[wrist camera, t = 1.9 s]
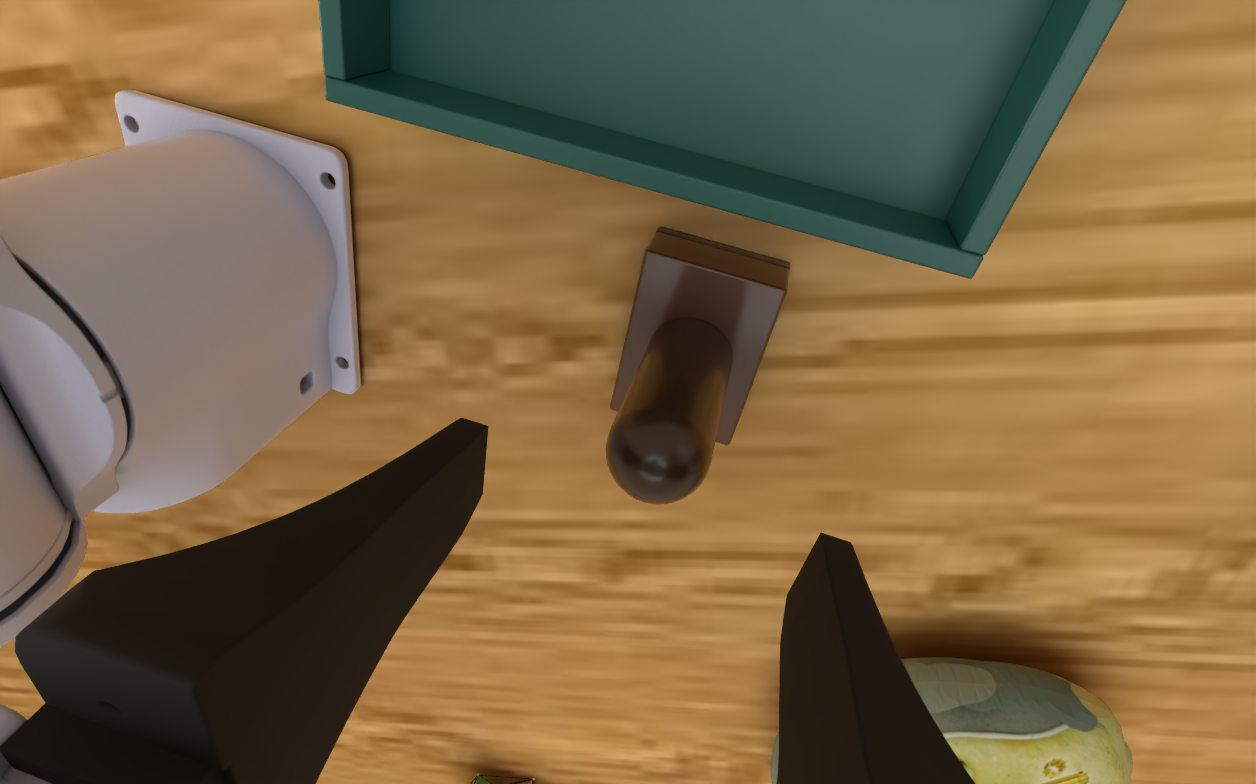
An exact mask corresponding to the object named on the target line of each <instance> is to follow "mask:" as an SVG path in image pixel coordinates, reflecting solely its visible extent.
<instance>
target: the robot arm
mask: <svg viewBox="0 0 1256 784" xmlns="http://www.w3.org/2000/svg"><path fill="white" fill-rule="evenodd" d="M115 106H116V110H117V114H118V117H119V121H120V125H121V129H122V133H123V137H124V141H125V145H126V147H123V148H119V149H116V150H112V151H108V152H104V153H100V154H97V155H93V156H89V157H85V158H81V159H77V160H74V161H70V162H66V163H62V164H58V165H54V166H51V167H47V168H43V169H39V170H35V171H31V172H28V173H24V174H20V175H16V176H12V177H8V178H5V179H1V180H0V647H2V646H3V645H5V644H6V643H8V642H9V641H10V640H12V639H13V638H14V637H16V640H15V652H16V655H17V657H18V659H19V661H20V663H21V665H22V666H23V668H24V670H25V671H26V673H27V674H28V676H29V677H30V679H31V681H32V682H33V684H34V685H35V687H36V688H37V690H38V692H39V693H40V695H41V696H42V698H43V700H44V701H45V704H44V705H43V706H42V707H41V708H40V709H39V710H38V711H37V712H36V713H35V714H34V715H33V716H32V717H31V718H30V719H29V720H26V719H25V718H24V717H23V716H22V715H20V714H19V713H17V712H16V711H14V710H12V709H10V708H8V707H6V706H4V705H2V704H0V784H316V782H317V780H318V778H319V775H320V773H321V771H322V769H323V767H324V765H325V763H326V761H327V759H328V758H329V756H330V754H331V752H332V750H333V748H334V746H335V744H336V742H337V740H338V738H339V736H340V734H341V732H342V730H343V728H344V726H345V724H346V722H347V720H348V718H349V716H350V714H351V712H352V711H353V709H354V707H355V705H356V703H357V701H358V699H359V697H360V696H361V694H362V692H363V690H364V688H365V686H366V684H367V682H368V680H369V679H370V677H371V675H372V673H373V671H374V670H375V668H376V666H377V664H378V662H379V660H380V659H381V657H382V655H383V653H384V651H385V650H386V648H387V646H388V644H389V642H390V641H391V639H392V637H393V635H394V634H395V632H396V631H397V629H398V627H399V626H400V624H401V623H402V621H403V620H404V618H405V616H406V615H407V614H408V612H409V611H410V609H411V608H412V606H413V605H414V603H415V602H416V601H417V599H418V598H419V596H420V595H421V593H422V592H423V590H424V589H425V588H426V586H427V585H428V583H429V582H430V580H431V579H432V577H433V576H434V575H435V573H436V572H437V570H438V569H439V567H440V566H441V564H442V563H443V561H444V560H445V559H446V557H447V556H448V554H449V553H450V551H451V550H452V548H453V547H454V545H455V544H456V542H457V541H458V539H459V538H460V536H461V535H462V533H463V531H464V529H465V527H466V526H467V524H468V522H469V520H470V518H471V516H472V514H473V512H474V510H475V508H476V506H477V504H478V502H479V500H480V498H481V496H482V494H483V483H484V471H485V460H486V448H487V436H488V426H486V425H483V424H480V423H477V422H474V421H471V420H467V419H464V418H460V419H458V420H456V421H455V422H453V423H452V424H450V425H449V426H447V427H445V428H444V429H442V430H441V431H439V432H438V433H436V434H435V435H433V436H432V437H430V438H428V439H427V440H425V441H424V442H422V443H421V444H419V445H417V446H416V447H414V448H413V449H411V450H410V451H408V452H406V453H405V454H403V455H401V456H400V457H398V458H396V459H395V460H393V461H391V462H390V463H388V464H386V465H385V466H383V467H381V468H379V469H378V470H376V471H374V472H372V473H371V474H369V475H367V476H365V477H363V478H361V479H359V480H358V481H356V482H354V483H352V484H350V485H348V486H346V487H345V488H343V489H341V490H339V491H337V492H335V493H333V494H331V495H329V496H327V497H325V498H323V499H320V500H318V501H316V502H314V503H312V504H310V505H307V506H305V507H303V508H301V509H298V510H296V511H294V512H291V513H289V514H287V515H284V516H282V517H279V518H276V519H274V520H271V521H268V522H266V523H263V524H260V525H258V526H255V527H252V528H249V529H247V530H244V531H241V532H239V533H236V534H233V535H230V536H227V537H224V538H220V539H217V540H214V541H211V542H208V543H205V544H201V545H198V546H194V547H191V548H187V549H184V550H180V551H177V552H173V553H169V554H165V555H162V556H157V557H153V558H149V559H145V560H140V561H136V562H132V563H128V564H123V565H119V566H115V567H110V568H106V569H101V570H96V571H93V572H92V573H91V574H89V575H88V576H87V577H85V578H84V579H83V580H82V581H80V582H79V583H78V584H76V585H75V586H74V587H73V588H71V589H70V590H69V591H68V592H67V593H65V594H64V595H63V596H62V597H61V598H59V597H60V596H61V595H62V594H63V593H64V592H65V591H66V589H67V588H68V586H69V585H70V584H71V582H72V581H73V579H74V578H75V576H76V575H77V573H78V571H79V569H80V567H81V565H82V563H83V560H84V558H85V554H86V549H87V544H88V540H87V528H86V525H85V523H84V521H83V519H82V518H84V517H85V516H86V515H88V514H89V513H90V512H92V511H93V512H101V513H120V514H122V513H140V512H147V511H153V510H157V509H161V508H165V507H169V506H172V505H175V504H178V503H181V502H184V501H186V500H189V499H192V498H194V497H196V496H198V495H200V494H203V493H205V492H207V491H209V490H211V489H212V488H214V487H216V486H217V485H219V484H221V483H222V482H223V481H225V480H226V479H227V478H229V477H230V476H231V475H233V474H234V473H235V472H236V471H237V470H238V469H240V468H241V467H242V466H243V465H244V464H245V463H246V462H248V461H249V460H250V459H251V458H252V457H253V456H255V455H256V454H257V453H258V452H259V451H260V450H261V449H263V448H264V447H265V446H266V445H267V444H268V443H270V442H271V441H272V440H273V439H274V438H275V437H276V436H278V435H279V434H280V433H281V432H282V431H283V430H285V429H286V428H287V427H288V426H289V425H290V424H291V423H293V422H294V421H295V420H296V419H297V418H298V417H300V416H301V415H302V414H303V413H304V412H305V411H306V410H308V409H309V408H310V407H311V406H312V405H313V404H314V403H316V402H317V401H318V400H319V399H320V398H321V397H323V396H324V395H325V394H326V393H327V392H328V391H329V390H331V389H332V390H335V391H338V392H341V393H345V394H353V393H354V392H356V391H357V390H358V389H359V388H360V385H361V377H360V360H359V343H358V326H357V309H356V292H355V275H354V258H353V241H352V224H351V207H350V190H349V173H348V164H347V160H346V158H345V156H344V155H343V153H342V152H341V151H339V150H338V149H337V148H335V147H333V146H329V145H326V144H322V143H319V142H315V141H312V140H308V139H305V138H301V137H298V136H294V135H291V134H287V133H284V132H280V131H277V130H273V129H270V128H266V127H263V126H259V125H255V124H252V123H248V122H245V121H241V120H238V119H234V118H231V117H227V116H224V115H220V114H217V113H213V112H210V111H206V110H203V109H199V108H196V107H192V106H189V105H185V104H182V103H178V102H174V101H171V100H167V99H164V98H160V97H157V96H153V95H150V94H146V93H143V92H139V91H136V90H123V91H119V92H118V93H116V96H115ZM135 120H136V121H137V123H138V125H139V126H138V125H137V124H136V121H135ZM328 173H329V174H331V175H332V176H333V178H334V179H335V182H336V185H334V184H332V183H331V181H330V180H329V177H328ZM343 358H344V359H346V361H347V362H348V363H347V362H345V361H344V359H343ZM776 784H976V783H975V782H974V781H973V779H972V778H971V776H970V775H969V773H968V772H967V771H966V769H965V768H964V766H963V765H962V763H961V762H960V760H959V759H958V757H957V756H956V754H955V753H954V751H953V750H952V748H951V747H950V745H949V744H948V742H947V740H946V739H945V737H944V736H943V734H942V732H941V731H940V729H939V727H938V726H937V724H936V722H935V721H934V719H933V718H932V716H931V714H930V712H929V711H928V709H927V707H926V705H925V704H924V702H923V700H922V698H921V696H920V695H919V693H918V691H917V689H916V687H915V685H914V683H913V682H912V680H911V678H910V676H909V674H908V672H907V670H906V668H905V666H904V664H903V662H902V660H901V658H900V656H899V654H898V652H897V650H896V648H895V646H894V643H893V641H892V639H891V637H890V635H889V632H888V630H887V628H886V626H885V624H884V622H883V619H882V617H881V615H880V613H879V610H878V608H877V606H876V603H875V601H874V598H873V596H872V593H871V591H870V589H869V586H868V584H867V581H866V579H865V576H864V574H863V571H862V569H861V566H860V563H859V561H858V558H857V556H856V553H855V551H854V548H853V546H852V544H851V542H848V541H845V540H842V539H839V538H836V537H833V536H829V535H826V534H823V533H820V535H819V537H818V539H817V541H816V543H815V544H814V546H813V548H812V550H811V552H810V554H809V555H808V557H807V559H806V561H805V563H804V565H803V567H802V568H801V570H800V572H799V574H798V576H797V578H796V579H795V581H794V583H793V585H792V587H791V589H790V591H789V592H788V594H787V599H786V605H785V612H784V619H783V626H782V634H781V642H780V695H779V756H778V774H777V783H776Z"/></svg>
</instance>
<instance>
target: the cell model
mask: <svg viewBox="0 0 1256 784" xmlns="http://www.w3.org/2000/svg"><path fill="white" fill-rule="evenodd" d="M901 660H902V662H903V664H904V666H905V668H906V670H907V672H908V674H909V676H910V678H911V680H912V682H913V683H914V685H915V687H916V689H917V691H918V693H919V695H920V696H921V698H922V700H923V702H924V704H925V705H926V707H927V709H928V711H929V712H930V714H931V716H932V718H933V719H934V721H935V722H936V724H937V726H938V727H939V729H940V731H941V732H942V734H943V736H944V737H945V739H946V740H947V742H948V744H949V745H950V747H951V748H952V750H953V751H954V753H955V754H956V756H957V757H958V759H959V760H960V762H961V763H962V765H963V766H964V768H965V769H966V771H967V772H968V773H969V775H970V776H971V778H972V779H973V781H974V782H975V783H976V784H1130V781H1131V774H1132V765H1133V761H1132V753H1131V750H1130V749H1129V747H1128V745H1127V744H1126V742H1125V741H1124V737H1123V734H1122V730H1121V727H1120V724H1119V723H1118V721H1117V719H1116V718H1115V716H1114V714H1113V713H1112V711H1111V709H1110V708H1109V707H1108V706H1107V705H1106V704H1105V703H1104V702H1102V701H1101V700H1100V699H1099V698H1097V697H1096V696H1094V695H1093V694H1092V693H1090V692H1088V691H1087V690H1085V689H1083V688H1082V687H1080V686H1078V685H1076V684H1074V683H1072V682H1070V681H1068V680H1066V679H1063V678H1061V677H1059V676H1057V675H1054V674H1051V673H1048V672H1046V671H1043V670H1039V669H1036V668H1032V667H1028V666H1024V665H1019V664H1012V663H1005V662H993V661H979V660H971V659H964V658H950V657H924V658H909V659H901ZM778 756H779V732H778V735H777V737H776V740H775V743H774V748H773V754H772V760H771V777H772V784H776V783H777V774H778Z"/></svg>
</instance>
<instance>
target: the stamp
mask: <svg viewBox="0 0 1256 784" xmlns="http://www.w3.org/2000/svg"><path fill="white" fill-rule="evenodd" d="M789 269H790V263H787V262H784V261H780V260H777V259H773V258H770V257H766V256H762V255H759V254H755V253H752V252H748V251H745V250H741V249H738V248H734V247H731V246H727V245H723V244H720V243H716V242H713V241H709V240H706V239H702V238H699V237H695V236H692V235H688V234H684V233H681V232H677V231H674V230H670V229H667V228H663V227H659V228H658V230H657V232H656V234H655V236H654V237H653V239H652V240H651V242H650V244H649V245H648V247H647V249H646V250H645V253H644V257H643V262H642V266H641V271H640V275H639V279H638V284H637V288H636V293H635V297H634V302H633V306H632V311H631V315H630V320H629V324H628V329H627V333H626V338H625V342H624V347H623V351H622V356H621V360H620V365H619V369H618V374H617V378H616V382H615V387H614V391H613V396H612V400H611V405H610V408H611V409H612V410H615V411H618V414H617V416H616V418H615V420H614V423H613V425H612V427H611V429H610V432H609V435H608V438H607V444H606V458H607V464H608V467H609V470H610V472H611V474H612V476H613V478H614V480H615V481H616V483H617V484H618V485H619V486H620V488H622V489H623V490H624V491H625V492H626V493H627V494H629V495H630V496H632V497H633V498H635V499H637V500H640V501H642V502H646V503H651V504H668V503H672V502H676V501H678V500H681V499H683V498H685V497H687V496H688V495H690V494H691V493H692V492H694V491H695V490H696V489H697V488H698V486H699V485H700V484H701V483H702V481H703V480H704V478H705V477H706V475H707V472H708V470H709V467H710V463H711V459H712V455H713V450H714V445H715V442H718V443H721V444H725V445H729V444H730V442H731V440H732V437H733V434H734V432H735V429H736V426H737V424H738V421H739V418H740V416H741V413H742V410H743V408H744V405H745V402H746V400H747V397H748V394H749V392H750V389H751V387H752V384H753V381H754V379H755V376H756V373H757V371H758V368H759V365H760V363H761V360H762V357H763V355H764V352H765V349H766V347H767V344H768V341H769V339H770V336H771V333H772V331H773V328H774V325H775V323H776V320H777V317H778V315H779V312H780V309H781V307H782V304H783V301H784V299H785V296H786V293H787V286H788V276H789Z"/></svg>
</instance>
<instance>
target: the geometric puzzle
mask: <svg viewBox="0 0 1256 784" xmlns="http://www.w3.org/2000/svg"><path fill="white" fill-rule="evenodd" d="M481 776H487V775H480V774H477V778H475V779H476V780H477V781H476V780H475V779H474V780H475V782H474V784H475V783H476V784H492V783H490V782H489V781H487V780H486V779H484V778H483V777H481ZM494 777H502V776H494ZM508 778H516V777H508ZM523 779H529V780H524V781H519V782H514V783H510V784H516V783H520V782H525V781H530V780H532V781H531V782H529V783H528V784H533V783H534V782H535V781H534V780H535V778H533V779H530V778H523ZM474 780H473V781H474ZM473 781H472V782H473ZM472 782H471V783H472ZM471 783H470V784H471Z"/></svg>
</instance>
